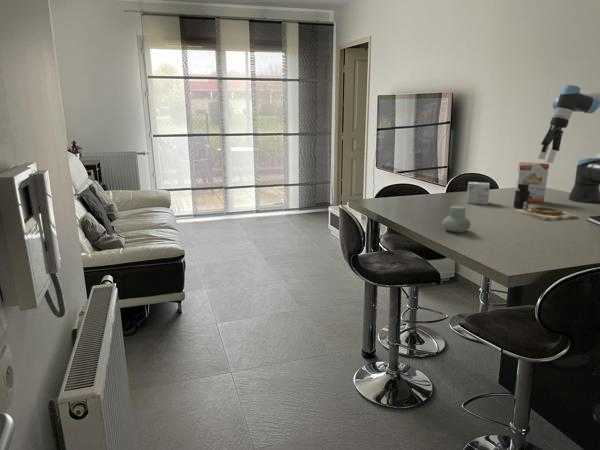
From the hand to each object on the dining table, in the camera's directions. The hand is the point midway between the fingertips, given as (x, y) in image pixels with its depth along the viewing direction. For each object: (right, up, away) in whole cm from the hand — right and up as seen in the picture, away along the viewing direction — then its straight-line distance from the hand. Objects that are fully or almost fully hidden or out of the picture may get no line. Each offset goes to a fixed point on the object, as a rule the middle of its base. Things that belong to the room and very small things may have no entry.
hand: (545, 161), depth 226 cm
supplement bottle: (-9, -23, +6) cm, 26 cm away
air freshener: (-57, -34, -38) cm, 77 cm away
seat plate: (-5, -27, -10) cm, 29 cm away
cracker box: (+3, -19, +22) cm, 29 cm away
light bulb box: (-27, -20, +18) cm, 38 cm away
